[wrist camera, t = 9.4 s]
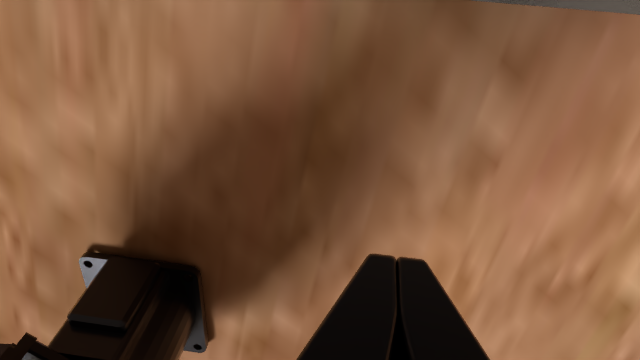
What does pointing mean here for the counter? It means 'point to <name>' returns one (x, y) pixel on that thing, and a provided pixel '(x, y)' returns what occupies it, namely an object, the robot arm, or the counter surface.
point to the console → (582, 4)
